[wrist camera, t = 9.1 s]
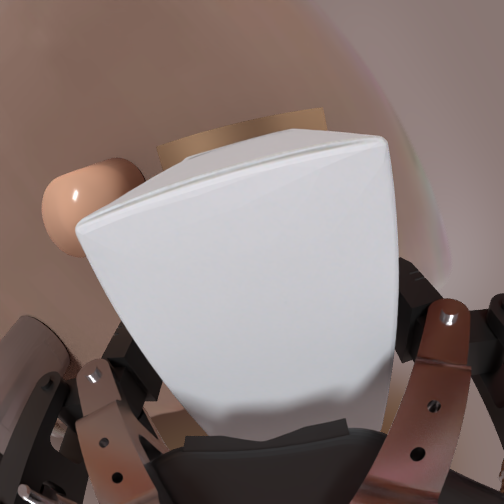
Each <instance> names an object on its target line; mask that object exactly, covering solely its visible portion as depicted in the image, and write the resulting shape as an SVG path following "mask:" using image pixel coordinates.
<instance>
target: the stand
mask: <svg viewBox="0 0 504 504" xmlns="http://www.w3.org/2000/svg"><path fill="white" fill-rule="evenodd" d="M288 129H308V130H322V131H328V130H327V125H326V120H325V115H324V111H323V107H321V108H314V109H307V110H301V111H294V112H289V113H283V114H277V115H272V116H267V117H262V118H258V119H253V120H248V121H244V122H240V123H236V124H231V125H227V126H224V127H220V128H216V129H212V130H209V131H205V132H201V133H198V134H195V135H191V136H188V137H185V138H181V139H178V140H175V141H172V142H169V143H166V144H163V145H160V146H157V147H156V148H157V152H158V155H159V159H160V162H161V165H162V169H163V171H165V170H167V169H169V168H171V167H172V166H174V165H176V164H178V163H180V162H182V161H183V160H184V159H185V158H187V157H189V156H192V155H195V154H199V153H202V152H206V151H210V150H213V149H216V148H220V147H223V146H226V145H230V144H233V143H237V142H240V141H244V140H248V139H252V138H255V137H259V136H263V135H267V134H271V133H274V132H279V131H283V130H288Z"/></svg>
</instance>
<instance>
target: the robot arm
mask: <svg viewBox="0 0 504 504" xmlns="http://www.w3.org/2000/svg"><path fill="white" fill-rule="evenodd" d="M395 350H396V352H397V354H398V356H399V358H400V360H401V362H402V363H404V362H407V361H410V360H413V361H414V365H413V369H412V372H411V375H410V378H409V381H408V385H407V387H406V390H405V393H404V395H403V398H402V401H401V404H400V406H399V409H398V411H397V414H396V416H395V419H394V421H393V423H392V426H391V428H390V430H389V432H388V435H387V434H385V433H382V432H379V431H376V430H371V429H365V428H348V426H347V421H346V418H343V419H339V420H335V421H330V422H326V423H321V424H316V425H311V426H305V427H303V428H300V429H298V430H295V431H292V432H290V433H287V434H284V435H281V436H279V437H276V438H273V439H270V440H267V441H252V440H245V439H239V438H233V437H227V436H186V437H185V443H184V447H180V448H177V449H173V450H171V451H170V450H169V449H168V448H167V446H166V445H165V443H164V442H163V440H162V438H161V436H160V435H159V433H158V431H157V429H156V428H155V426H154V424H153V422H152V420H151V418H150V416H149V414H148V412H147V411H146V409H145V408H144V407H143V405H144V402H145V401H157V399H158V396H159V392H160V388H161V385H162V381H163V380H162V379H161V378H160V376H159V375H158V374H157V372H156V371H155V370H154V368H153V367H152V366H151V364H150V363H149V361H148V360H147V358H146V357H145V356H144V354H143V353H142V351H141V350H140V348H139V347H138V345H137V344H136V342H135V341H134V339H133V338H132V336H131V335H130V333H129V332H128V330H127V328H126V327H125V325H124V324H123V322H122V320H121V322H120V324H119V326H118V328H117V329H116V331H115V333H114V335H113V337H112V339H111V340H110V342H109V344H108V346H107V348H106V350H105V352H104V354H103V356H102V358H101V359H95V360H92V361H90V362H88V363H87V364H85V365H84V366H83V367H82V368H81V369H80V371H79V372H78V375H77V378H74V379H70V380H66V381H65V380H64V379H63V378H62V377H63V375H64V373H65V371H66V369H67V368H68V366H69V364H70V358H69V355H68V352H67V350H66V348H65V347H64V345H63V344H62V342H61V341H60V340H59V339H58V337H57V336H56V335H55V334H54V333H53V332H52V331H51V330H50V329H49V328H48V327H46V326H45V325H44V324H42V323H41V322H40V321H38V320H36V319H34V318H32V317H29V316H22V317H20V318H19V319H18V320H17V322H16V323H15V324H14V325H13V326H12V327H11V329H10V330H9V331H8V332H7V334H6V335H5V336H4V337H3V338H2V340H1V341H0V504H83V499H84V495H85V490H86V485H87V481H88V477H89V478H90V481H91V484H92V487H93V490H94V492H95V495H96V498H97V500H98V503H99V504H504V459H503V462H502V466H501V472H500V473H499V480H500V482H502V484H501V489H500V491H497V490H495V489H492V488H490V487H488V486H485V485H483V484H481V483H478V482H476V481H474V480H472V479H470V478H468V477H465V476H463V475H462V474H459V473H457V472H455V471H453V470H451V469H450V465H451V462H452V459H453V456H454V453H455V450H456V446H457V443H458V439H459V435H460V431H461V427H462V423H463V419H464V414H465V409H466V404H467V398H468V393H469V386H470V380H471V378H472V379H473V381H474V383H475V385H476V387H477V389H478V391H479V393H480V395H481V397H482V399H483V401H484V404H485V405H486V408H487V410H488V412H489V415H490V417H491V419H492V422H493V424H494V426H495V429H496V431H497V434H498V436H499V438H500V441H501V444H502V447H503V449H504V293H502V294H497V295H495V296H494V297H493V298H492V299H491V302H490V305H489V309H483V310H473V311H469V309H468V308H467V306H466V305H465V304H463V303H462V302H460V301H458V300H455V299H450V298H443V297H442V296H441V295H440V294H439V292H438V291H437V290H436V289H435V288H434V287H433V286H432V285H431V283H430V282H429V281H428V280H427V279H426V278H424V276H423V275H422V274H421V272H419V271H418V269H417V268H416V267H415V266H414V265H413V264H412V263H411V262H409V261H407V260H405V259H403V258H401V257H400V258H399V294H398V315H397V330H396V341H395ZM57 418H59V419H60V420H61V421H62V422H63V423H64V424H65V425H66V426H67V430H66V433H65V436H64V438H63V441H62V444H61V447H60V450H59V452H58V451H57V450H55V449H54V448H53V447H52V445H51V442H50V435H51V433H52V430H53V428H54V425H55V422H56V420H57Z"/></svg>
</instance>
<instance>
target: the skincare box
mask: <svg viewBox="0 0 504 504" xmlns="http://www.w3.org/2000/svg"><path fill="white" fill-rule="evenodd" d="M75 233H76V236H77V238H78V240H79V242H80V244H81V246H82V248H83V250H84V252H85V254H86V256H87V258H88V260H89V262H90V264H91V266H92V268H93V270H94V272H95V274H96V276H97V278H98V280H99V282H100V284H101V285H102V287H103V289H104V291H105V293H106V295H107V296H108V298H109V300H110V302H111V303H112V305H113V307H114V309H115V310H116V312H117V314H118V315H119V317H120V319H121V320H122V322H123V324H124V325H125V327H126V328H127V330H128V332H129V333H130V335H131V336H132V338H133V339H134V341H135V342H136V344H137V345H138V347H139V348H140V350H141V351H142V353H143V354H144V356H145V357H146V358H147V360H148V361H149V363H150V364H151V366H152V367H153V368H154V370H155V371H156V372H157V374H158V375H159V376H160V378H161V379H162V380H163V382H164V383H165V384H166V385H167V387H168V388H169V389H170V391H171V392H172V393H173V394H174V396H175V397H176V398H177V399H178V401H179V402H180V403H181V404H182V406H183V407H184V408H185V409H186V410H187V412H188V413H189V414H190V415H191V416H192V417H193V419H194V420H195V421H196V422H197V423H198V424H199V425H200V426H201V427H202V429H203V430H204V431H205V432H206V433H207V434H208V435H209V436H227V437H233V438H239V439H245V440H252V441H267V440H270V439H273V438H276V437H279V436H281V435H284V434H287V433H290V432H292V431H295V430H298V429H300V428H303V427H305V426H311V425H316V424H321V423H326V422H330V421H335V420H339V419H343V418H346V421H347V426H348V428H365V429H371V430H376V431H379V432H380V431H381V428H382V424H383V419H384V414H385V409H386V404H387V399H388V393H389V386H390V380H391V373H392V366H393V359H394V350H395V341H396V330H397V315H398V294H399V257H398V233H397V216H396V203H395V192H394V183H393V175H392V167H391V160H390V154H389V148H388V143H387V141H386V140H385V139H384V138H383V137H381V136H374V135H363V134H354V133H345V132H334V131H322V130H308V129H288V130H283V131H279V132H274V133H271V134H267V135H263V136H259V137H255V138H252V139H248V140H244V141H240V142H237V143H233V144H230V145H226V146H223V147H220V148H216V149H213V150H210V151H206V152H202V153H199V154H195V155H192V156H189V157H187V158H185V159H184V160H183V161H182V162H180V163H178V164H176V165H174V166H172V167H171V168H169V169H167V170H165V171H163V172H162V173H160V174H158V175H156V176H154V177H153V178H151V179H149V180H148V181H146V182H144V183H143V184H141V185H139V186H138V187H136V188H134V189H132V190H131V191H129V192H127V193H126V194H124V195H123V196H121V197H119V198H118V199H116V200H115V201H113V202H112V203H110V204H108V205H106V206H104V207H102V208H100V209H98V210H97V211H95V212H93V213H91V214H90V215H88V216H86V217H84V218H83V219H81V220H80V221H79V222H78V223H77V225H76V227H75Z"/></svg>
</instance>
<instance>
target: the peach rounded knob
mask: <svg viewBox="0 0 504 504" xmlns="http://www.w3.org/2000/svg"><path fill="white" fill-rule="evenodd" d="M144 182H145V180H144V178H143V175H142V174H141V172H140V171H139V169H138V168H137V167H136V166H135V165H134V164H133V163H131V162H130V161H128V160H125V159H122V158H112V159H108V160H105V161H102V162H99V163H96V164H93V165H90V166H87V167H84V168H81V169H78V170H75V171H73V172H70V173H67V174H65V175H62V176H60V177H57V178H56V179H54V180H53V181H52V182H51V183H50V184H49V185H48V187H47V188H46V190H45V193H44V196H43V200H42V216H43V221H44V225H45V228H46V230H47V232H48V234H49V236H50V238H51V239H52V241H53V242H54V243H55V244H56V246H57V247H58V248H60V249H61V250H62V251H63V252H65V253H67V254H68V255H71V256H74V257H79V258H81V257H87V256H86V254H85V252H84V250H83V248H82V246H81V244H80V242H79V240H78V238H77V236H76V233H75V227H76V225H77V223H78V222H79V221H80V220H81V219H83V218H84V217H86V216H88V215H90V214H91V213H93V212H95V211H97V210H98V209H100V208H102V207H104V206H106V205H108V204H110V203H112V202H113V201H115V200H116V199H118V198H119V197H121V196H123V195H124V194H126V193H127V192H129V191H131V190H132V189H134V188H136V187H138V186H139V185H141V184H143V183H144Z"/></svg>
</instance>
